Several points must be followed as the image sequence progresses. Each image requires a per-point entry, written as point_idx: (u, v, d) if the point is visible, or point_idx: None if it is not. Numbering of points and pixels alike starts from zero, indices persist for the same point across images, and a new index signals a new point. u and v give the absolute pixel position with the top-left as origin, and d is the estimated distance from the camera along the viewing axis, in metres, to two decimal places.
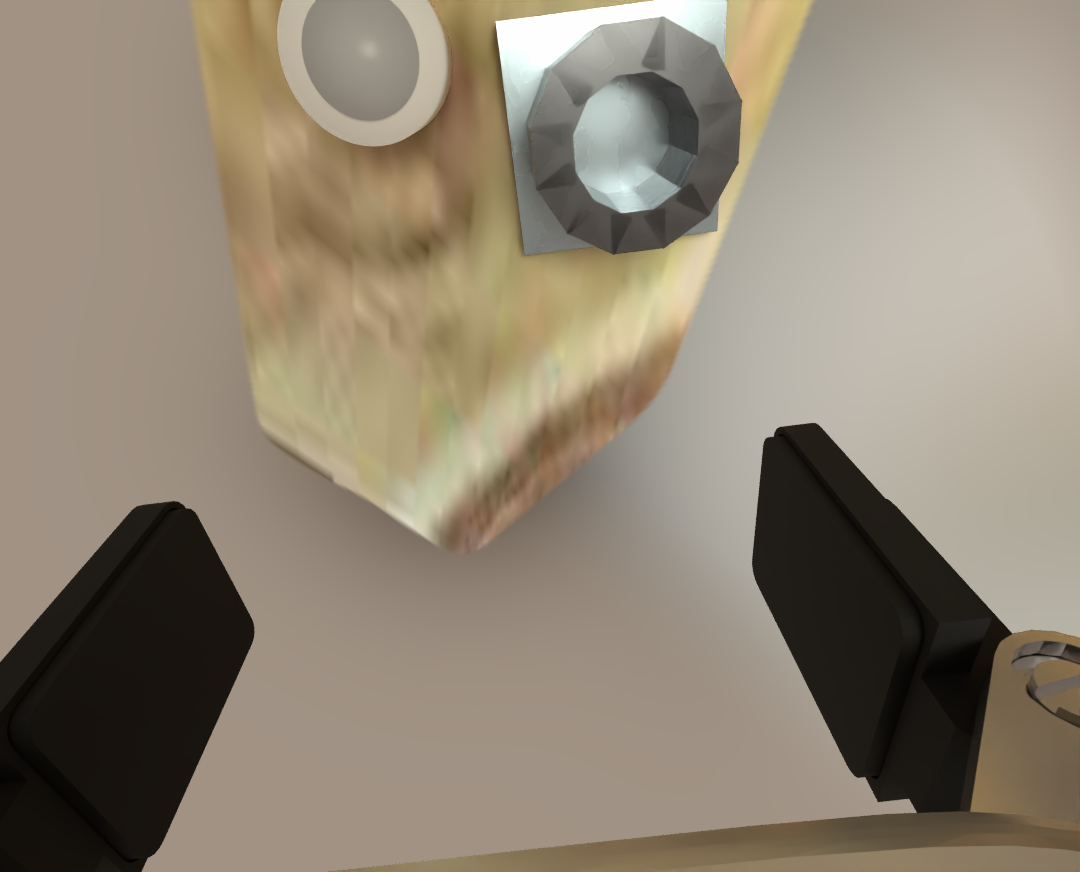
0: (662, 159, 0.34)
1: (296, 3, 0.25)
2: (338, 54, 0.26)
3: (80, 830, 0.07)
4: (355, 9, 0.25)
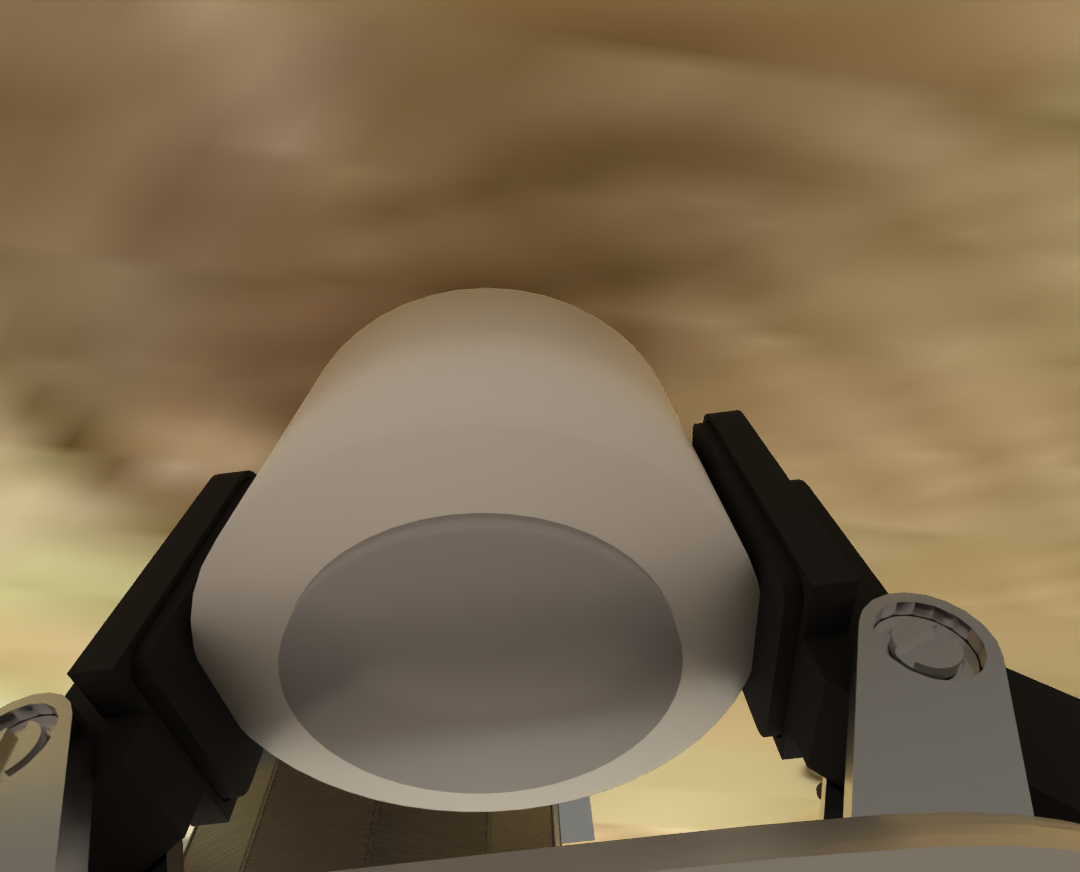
0: None
1: (645, 512, 0.07)
2: (484, 633, 0.07)
3: (185, 765, 0.07)
4: (615, 682, 0.08)
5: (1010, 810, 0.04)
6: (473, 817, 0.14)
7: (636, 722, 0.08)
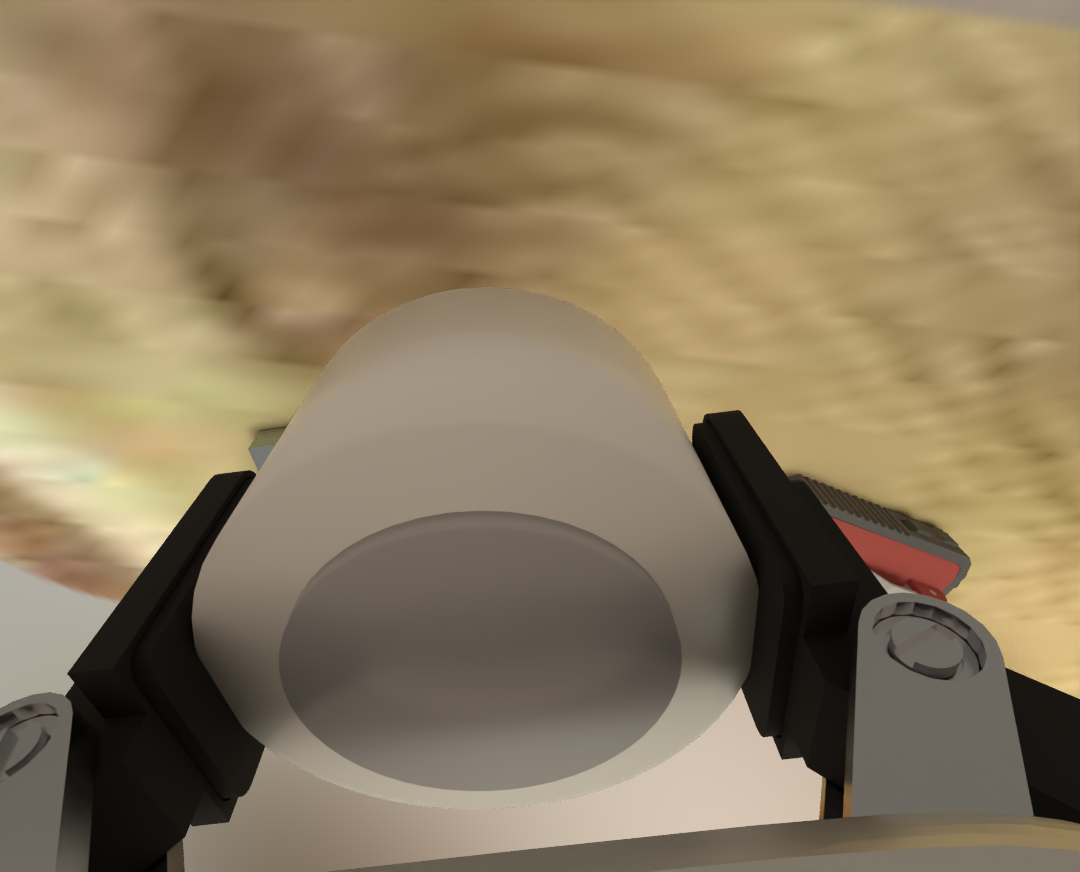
0: None
1: (644, 509, 0.07)
2: (484, 632, 0.07)
3: (186, 765, 0.07)
4: (614, 679, 0.08)
5: (1009, 809, 0.04)
6: None
7: (635, 720, 0.08)
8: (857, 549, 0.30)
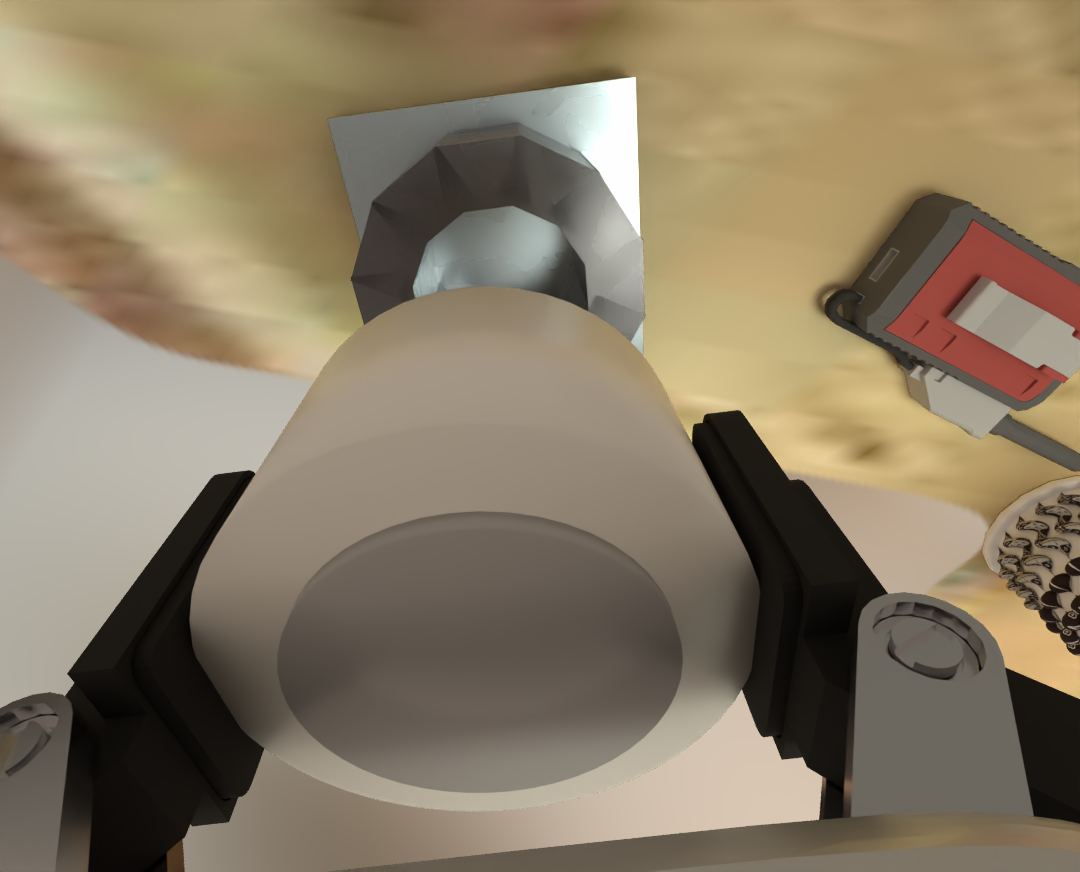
0: None
1: (645, 510, 0.07)
2: (483, 633, 0.07)
3: (186, 765, 0.07)
4: (614, 681, 0.08)
5: (1010, 810, 0.04)
6: (580, 158, 0.21)
7: (636, 722, 0.08)
8: (1005, 273, 0.26)
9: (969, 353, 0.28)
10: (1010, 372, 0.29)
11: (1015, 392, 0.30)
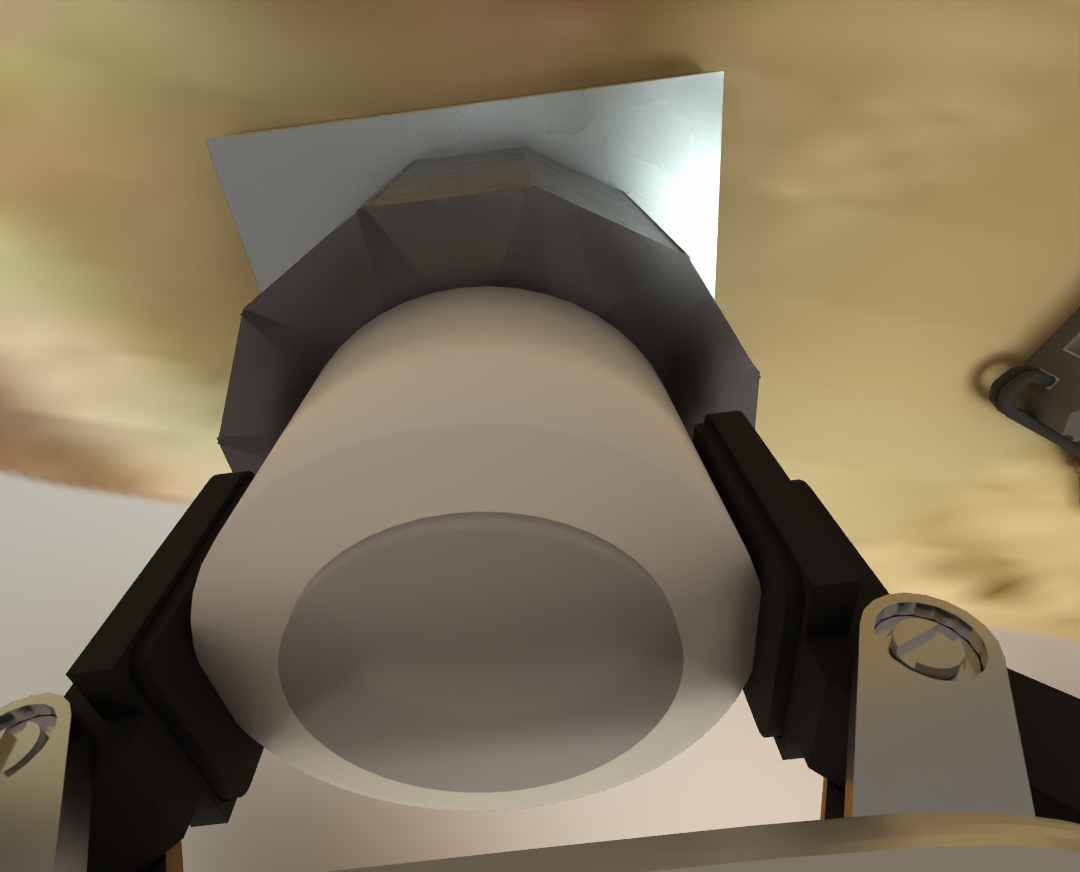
0: None
1: (646, 510, 0.07)
2: (484, 633, 0.07)
3: (185, 765, 0.07)
4: (615, 681, 0.08)
5: (1011, 810, 0.04)
6: (639, 217, 0.11)
7: (636, 721, 0.08)
8: None
9: None
10: None
11: None
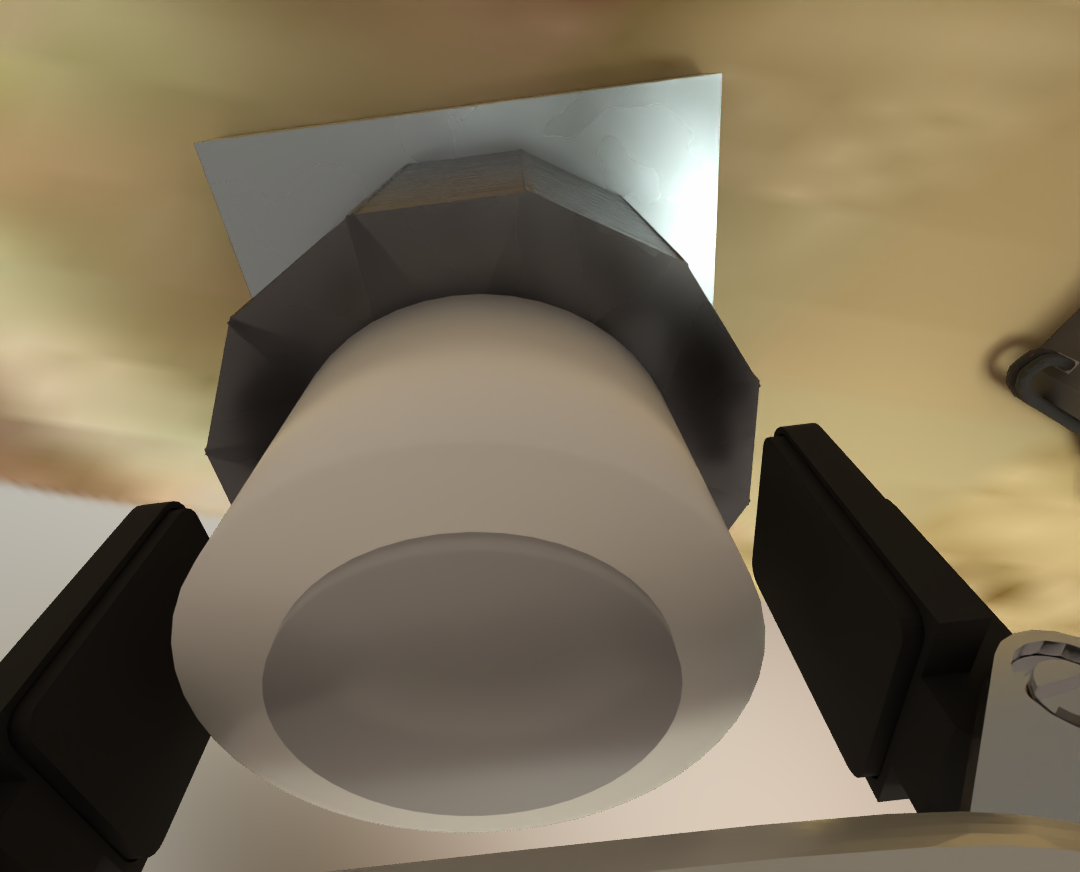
0: None
1: (643, 530, 0.06)
2: (476, 656, 0.07)
3: (79, 830, 0.07)
4: (612, 704, 0.07)
5: None
6: (636, 222, 0.11)
7: (633, 744, 0.08)
8: None
9: None
10: None
11: None
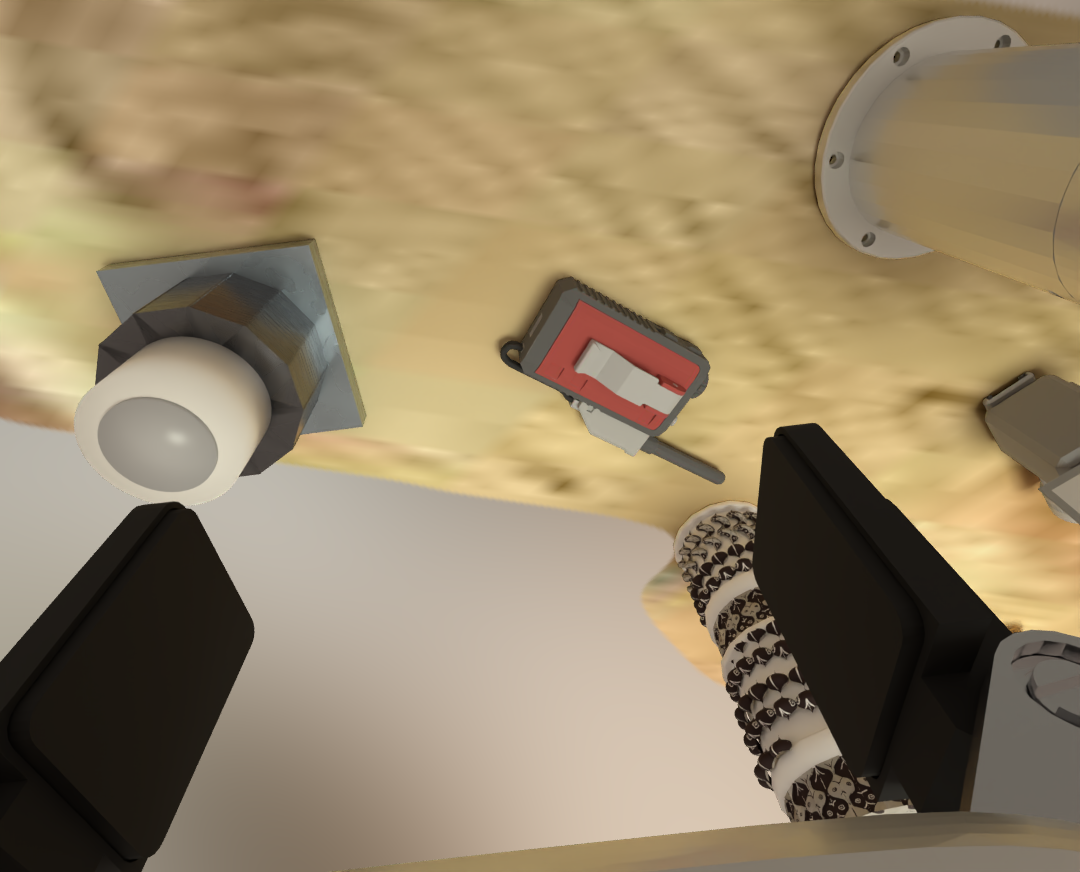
0: None
1: (187, 396, 0.27)
2: (152, 430, 0.27)
3: (79, 831, 0.07)
4: (195, 447, 0.28)
5: None
6: (253, 308, 0.32)
7: (208, 463, 0.28)
8: (610, 337, 0.37)
9: (599, 392, 0.39)
10: (634, 408, 0.39)
11: (643, 422, 0.40)
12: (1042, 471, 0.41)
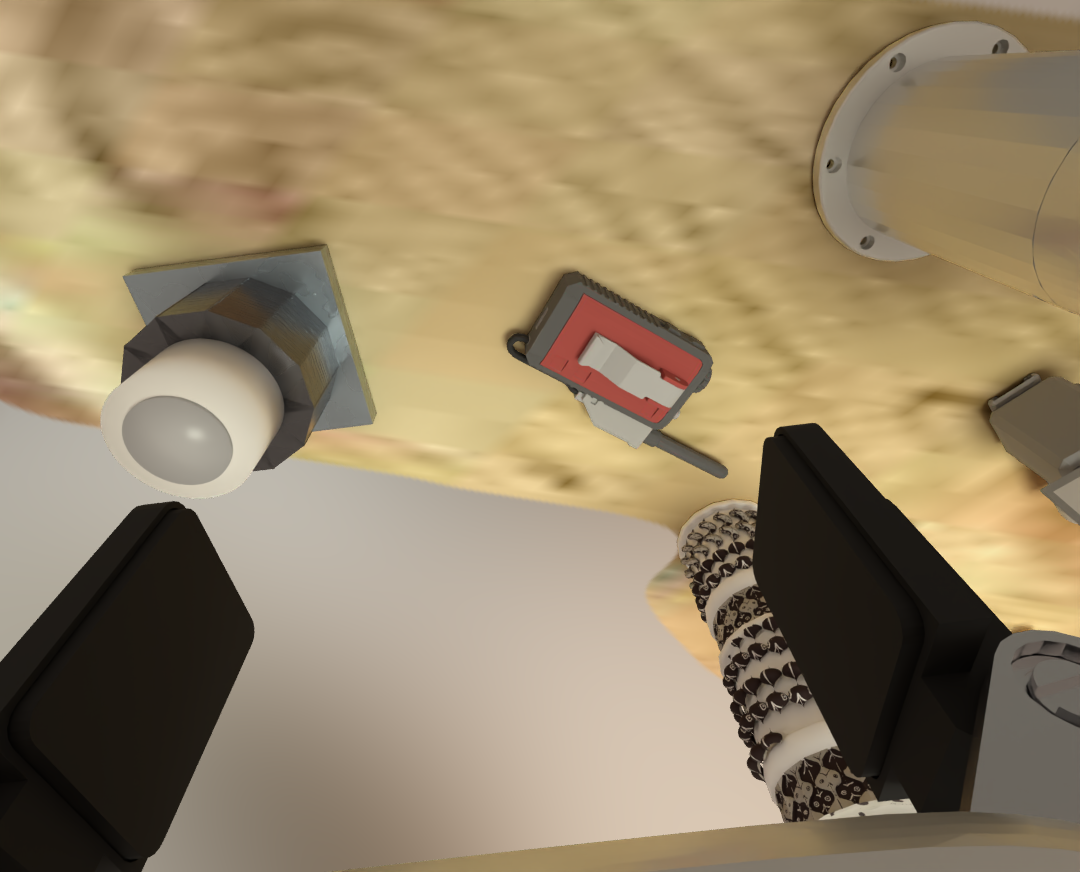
0: None
1: (203, 395, 0.28)
2: (171, 427, 0.29)
3: (79, 830, 0.07)
4: (211, 443, 0.29)
5: None
6: (267, 311, 0.33)
7: (223, 458, 0.30)
8: (614, 331, 0.38)
9: (603, 385, 0.39)
10: (637, 401, 0.40)
11: (646, 415, 0.41)
12: (1046, 473, 0.41)
